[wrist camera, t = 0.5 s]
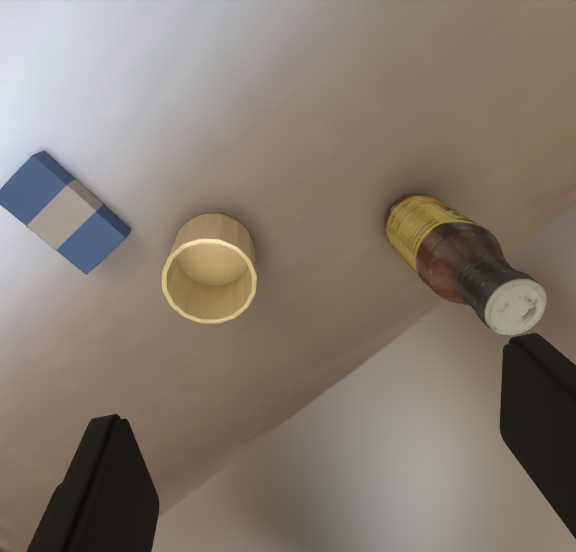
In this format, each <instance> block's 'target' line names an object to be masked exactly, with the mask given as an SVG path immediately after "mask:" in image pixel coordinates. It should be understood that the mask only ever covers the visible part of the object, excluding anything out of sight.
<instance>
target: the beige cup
mask: <svg viewBox="0 0 576 552" xmlns="http://www.w3.org/2000/svg"><path fill="white" fill-rule="evenodd" d="M256 282H257V272H256V260H255V248H254V245H253V241H252V238H251V236H250V234H249V233H248V231H247V230H246V228H245V227H244V226H243V225H242V224H241V223H240V222H238V221H237V220H235V219H233V218H231V217H229V216H226V215H223V214H217V213H208V214H203V215H199V216H197V217H194V218H192V219H191V220H189V221H188V222H187V223H185V224H184V225H183V226H182V228H181V229H180V230H179V231H178V234H177V236H176V238H175V241H174V243H173V245H172V248H171V250H170V253H169V255H168V258H167V261H166V263H165V266H164V268H163V271H162V290H163V292H164V294H165V296H166V298H167V300H168V302H169V304H170V305H171V306H172V307H173V308H174V309H175V310H176V311H177V312H179V313H180V314H181V315H182V316H183V317H186V318H188V319H191V320H194V321H196V322H199V323H221V322H224V321H227V320H230V319H233V318H235V317H237V316H238V315H239V314H240V313H241V312H243V311H244V310H245V309H246V308H248V306H249V305H250V303H251V301H252V299H253V297H254V295H255V293H256Z"/></svg>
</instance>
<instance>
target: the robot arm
mask: <svg viewBox="0 0 576 552" xmlns="http://www.w3.org/2000/svg"><path fill="white" fill-rule="evenodd" d="M502 366H503V367H502V388H501V409H500V411H501V412H500V432H501V435H502V438H503V440H504V442H505V443H506V445H507V446H508V448H509V449H510V450H511V452H512V453H513V454H514V456H515V457H516V459H517V460H518V461H519V463H520V464H521V465H522V466H523V468H524V469H525V471H526V472H527V473H528V475H529V476H530V478H531V479H532V480H533V482H534V483H535V484H536V486H537V487H538V488H539V490H540V491H541V492H542V494H543V495H544V497H545V498H546V499H547V500H548V502H549V503H550V505H551V506H552V507H553V509H554V510H555V512H556V513H557V514H558V516H559V517H560V518H561V520H562V521H563V523H564V524H565V525H566V527H567V528H568V529H569V531H570V532H571V533H572V535H573V536H574V537H575V539H576V365H575V364H574V363H572V362H571V361H570V360H569V359H568V358H566V357H565V356H564V355H563V354H562V353H561V352H559V351H558V350H557V349H556V348H555V347H553V346H552V345H551V344H550V343H549V342H547V341H546V340H545V339H544V338H543V337H542V336H540V335H539V334H537V333H532V334H526V335H522V336H516V337H512V338H511V339H510V340H509V344H507V345H505V346H504V349H503V364H502ZM158 514H159V498H158V495H157V492H156V489H155V487H154V484H153V482H152V479H151V477H150V474H149V472H148V469H147V467H146V464H145V462H144V459H143V457H142V454H141V452H140V449H139V447H138V444H137V442H136V439H135V437H134V434H133V432H132V429H131V427H130V424H129V422H128V420H127V419H121V418H120V417H119V416H118V415H117V414H114V415H109V416H104V417H98V418H93V419H92V420H91V421H90V422H89V424H88V426H87V429H86V431H85V433H84V435H83V438H82V440H81V442H80V444H79V447H78V449H77V451H76V453H75V456H74V458H73V460H72V462H71V464H70V467H69V469H68V471H67V473H66V476H65V478H64V480H63V482H62V483H61V484H60V485H59V486H57V488H56V490H55V491H54V493H53V495H52V497H51V500H50V502H49V504H48V506H47V508H46V510H45V513H44V515H43V517H42V519H41V521H40V524H39V526H38V528H37V530H36V532H35V534H34V537H33V539H32V541H31V543H30V545H29V548H28V550H27V552H151V550H152V545H153V540H154V535H155V530H156V525H157V519H158Z"/></svg>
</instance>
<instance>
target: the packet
mask: <svg viewBox="0 0 576 552" xmlns="http://www.w3.org/2000/svg"><path fill="white" fill-rule="evenodd" d="M0 205H2V206H3V207H4V208H5V209H7V210H8V211H9V212H10V213H11V214H13V215H14V216H15V217H16V218H18V219H19V220H20V221H21V222H22V223H24V224H25V225H26V227H28V228H29V229H30V230H31V231H32V232H34V233H35V234H36V235H37V236H39V237H40V238H41V239H42V240H43V241H45V242H46V243H47V244H48V245H50V246H51V247H52V248H53V249H54V250H57V251H58V252H59V253H60V254H62V255H63V256H64V257H65V258H66V259H68V260H69V261H70V262H71V263H73V264H74V265H75V266H76V267H77V268H79V269H80V270H81V271H82V272H84V273H85V274H88V273H89V272H90V271H91V270H92V269H93V268H94V267H95V266H96V265H98V264H99V263H100V262H101V261H102V260H103V259H104V258H105V257H106V256H107V255H108V254H109V253H110V252H111V251H112V250H114V249H115V248H116V247H117V246H118V245H119V244H120V243H121V242H122V241H123V240H124V239H125V238H126V237H127V235H128V234H129V233H130V231H131V229H130V228H129V227H128V226H126V225H125V224H124V223H123V222H122V221H121V220H120V219H119V218H118V217H117V216H115V215H114V214H113V213H112V212H111V211H110V210H109V209H108V208H107V207H105V206H104V205H103V203H102V202H101V201H100V200H99V199H98V198H96V197H95V196H94V195H93V194H92V193H91V192H90V191H89V190H88V189H87V188H85V187H84V186H83V185H82V184H81V183H80V182H79V181H78V180H77V179H75V178H73V177H72V176H71V175H70V174H69V173H68V172H67V171H66V170H65V169H64V168H62V167H61V166H60V165H59V164H58V163H57V162H56V161H55V160H54V159H52V158H51V157H50V156H49V155H48V154H47V153H46V152H45V151H42V152H40V153H37V154H35V155H32V156H31V157H30V158H29V160H28V161H27V162H26V163H25V164H24V165H23V166H22V167H21V168H20V169H19V170H18V171H17V172H16V173H15V174H14V175H13V176H12V177H11V179H10V180H9V181H8V182H7V183H6V184H5V185H4V186H3V187H2V188H1V189H0Z"/></svg>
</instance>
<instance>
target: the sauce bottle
mask: <svg viewBox="0 0 576 552" xmlns="http://www.w3.org/2000/svg"><path fill="white" fill-rule="evenodd" d="M385 231H386V235H387V238H388V241H389V242H390V243H391V244H392V247H393V248H394V249H395V250H396V251H397V253H398V254H399V255H400V256H401V257H402V258H403V259H404V261H405V262H406V263H407V264H408V265H409V266H410V267H411V268H412V269H413V270H414V272H415V273H416V274H417V275H418V276H419V277H420V278H421V279H422V280H423V282H424V283H426V284H427V285H428V286H429V287H431V289H432V290H433V291H434V292H435V293H436V294H437V295H439V296H440V297H442V298H443V299H445V300H448V301H450V302H455V303H460V304H467V305H470V306H471V307H472V308H473V309H474V310H475V311H476V313H477V315H478V317H479V318H480V319H481V320H482V322H483V323H485V325H486V326H487V327H488V328H489V329H491V330H492V331H493V332H495V333H497V334H500V335H517V334H520V333H522V332H525V331H527V330H529V329H530V328H531V327H532V326H534V325H535V324H536V323H537V322H538V321H539V319H540V318H541V316H542V314H543V312H544V309H545V306H546V301H547V299H546V292H545V290H544V288H543V287H542V286H541V285H540V284H539V283H538V282H537V281H535V280H534V279H533V278H532V277H530V276H529V275H527V274H525V273H523V272H520V271H516V270H515V269H513V268H512V267H510V265H509V264H508V263H507V262H506V261H505V258H504V256H503V253H502V250H501V248H500V245H499V242H498V241H497V239H496V237H495V236H494V235H493V234H492V233H491V232H490V231H488V230H487V229H485V228H484V227H482V226H480V225H478V224H477V223H475V222H473V221H472V220H470V219H468V218H467V217H465V216H463V215H461V214H460V213H458V212H457V211H455V210H453V209H451V208H450V207H448V206H446V205H445V204H443V203H441V202H440V201H438V200H436V199H434V198H432V197H428V196H425V195H412V196H408V197H404V198H402V199H400V200H399V201H398V202H397V203H396V204H395V205H394V206H393V207H392V208H391V209H390V211H389V213H388V214H387V216H386V218H385Z"/></svg>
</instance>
